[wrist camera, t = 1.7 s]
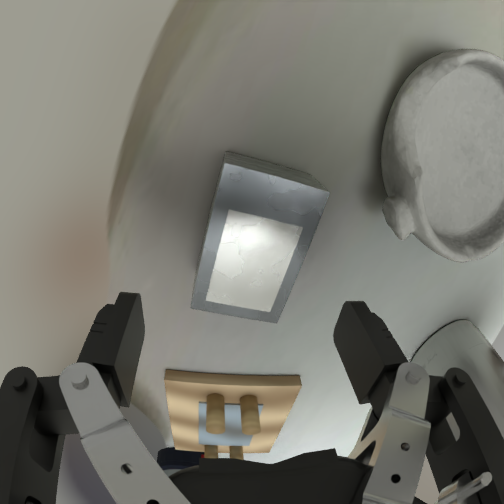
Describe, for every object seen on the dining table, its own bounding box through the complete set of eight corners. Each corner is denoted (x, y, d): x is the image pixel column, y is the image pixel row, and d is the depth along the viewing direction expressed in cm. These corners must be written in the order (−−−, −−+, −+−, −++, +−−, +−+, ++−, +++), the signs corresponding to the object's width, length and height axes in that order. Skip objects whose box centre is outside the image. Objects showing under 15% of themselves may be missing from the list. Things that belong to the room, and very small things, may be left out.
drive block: (308, 173, 17) (330, 193, 13) (268, 284, 20) (277, 324, 17) (225, 150, 16) (224, 163, 12) (196, 270, 19) (190, 309, 16)
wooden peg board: (166, 369, 23) (159, 413, 19) (299, 375, 25) (309, 417, 21) (175, 441, 31) (173, 472, 27) (267, 445, 32) (271, 475, 28)
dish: (355, 232, 19) (389, 272, 14) (373, 26, 12) (418, 8, 8) (487, 235, 20) (522, 262, 16) (510, 87, 13) (553, 96, 9)
